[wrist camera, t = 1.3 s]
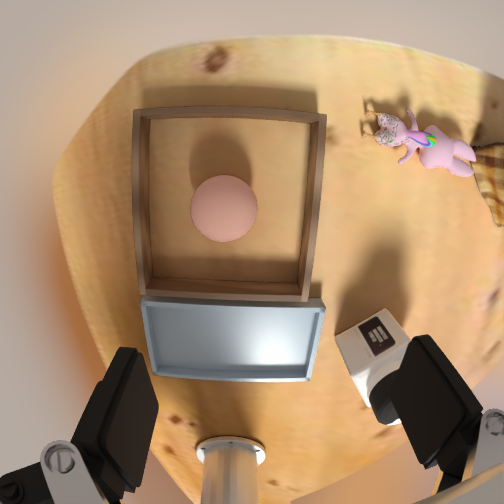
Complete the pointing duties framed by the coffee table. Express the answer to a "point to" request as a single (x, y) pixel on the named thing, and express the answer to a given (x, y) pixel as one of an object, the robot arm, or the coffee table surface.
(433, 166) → the pink plastic figure
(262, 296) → the wooden box frame
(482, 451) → the robot arm
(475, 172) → the plaid cloth bag
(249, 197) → the ball
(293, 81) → the coffee table surface
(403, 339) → the container
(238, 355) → the tray
